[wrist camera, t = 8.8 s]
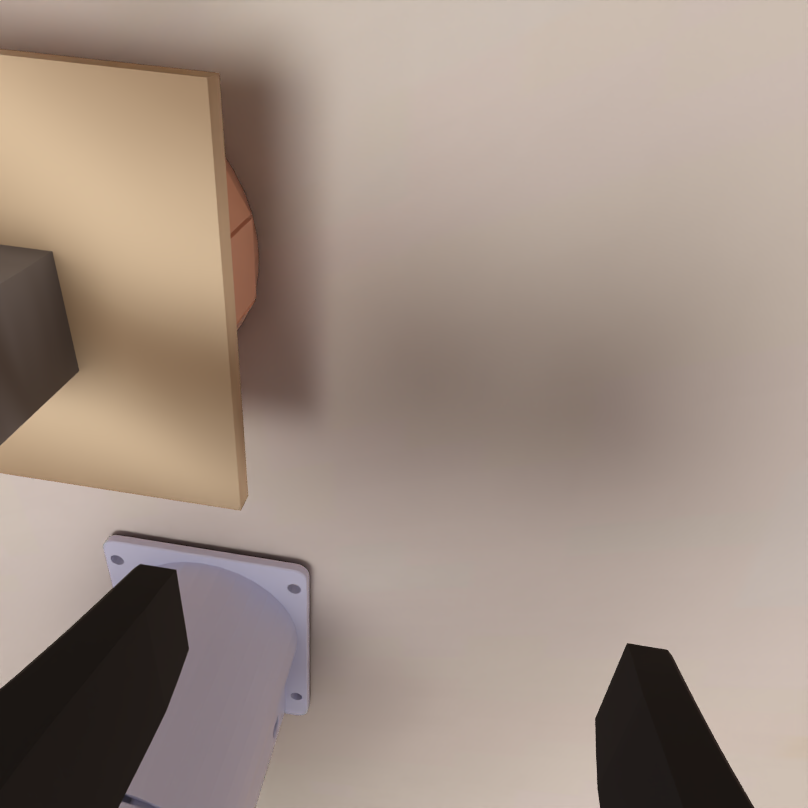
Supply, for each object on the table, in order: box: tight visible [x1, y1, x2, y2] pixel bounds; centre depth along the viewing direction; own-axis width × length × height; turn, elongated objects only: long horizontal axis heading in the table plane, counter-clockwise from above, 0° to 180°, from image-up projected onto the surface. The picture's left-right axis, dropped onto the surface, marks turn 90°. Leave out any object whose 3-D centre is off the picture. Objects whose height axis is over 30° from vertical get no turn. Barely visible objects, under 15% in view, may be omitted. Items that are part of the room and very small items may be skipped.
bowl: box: [225, 158, 259, 330], centre depth 17 cm, size 9×9×4 cm
